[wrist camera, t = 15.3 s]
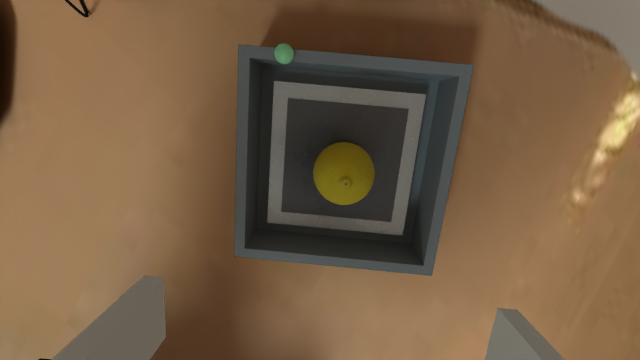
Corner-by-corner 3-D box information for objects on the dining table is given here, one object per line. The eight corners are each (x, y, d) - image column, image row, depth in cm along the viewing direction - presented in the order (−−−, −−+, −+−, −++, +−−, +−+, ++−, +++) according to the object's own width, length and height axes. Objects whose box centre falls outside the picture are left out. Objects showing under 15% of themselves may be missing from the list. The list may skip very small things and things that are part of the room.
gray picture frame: (400, 231, 34) (403, 236, 33) (269, 219, 34) (266, 223, 33) (423, 94, 30) (426, 94, 29) (275, 81, 31) (273, 80, 29)
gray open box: (415, 248, 36) (433, 279, 30) (249, 232, 36) (232, 259, 30) (447, 69, 31) (477, 60, 25) (255, 52, 31) (236, 39, 25)
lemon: (342, 200, 32) (346, 230, 24) (304, 165, 31) (295, 185, 24) (380, 163, 31) (396, 183, 23) (341, 126, 30) (345, 133, 23)
